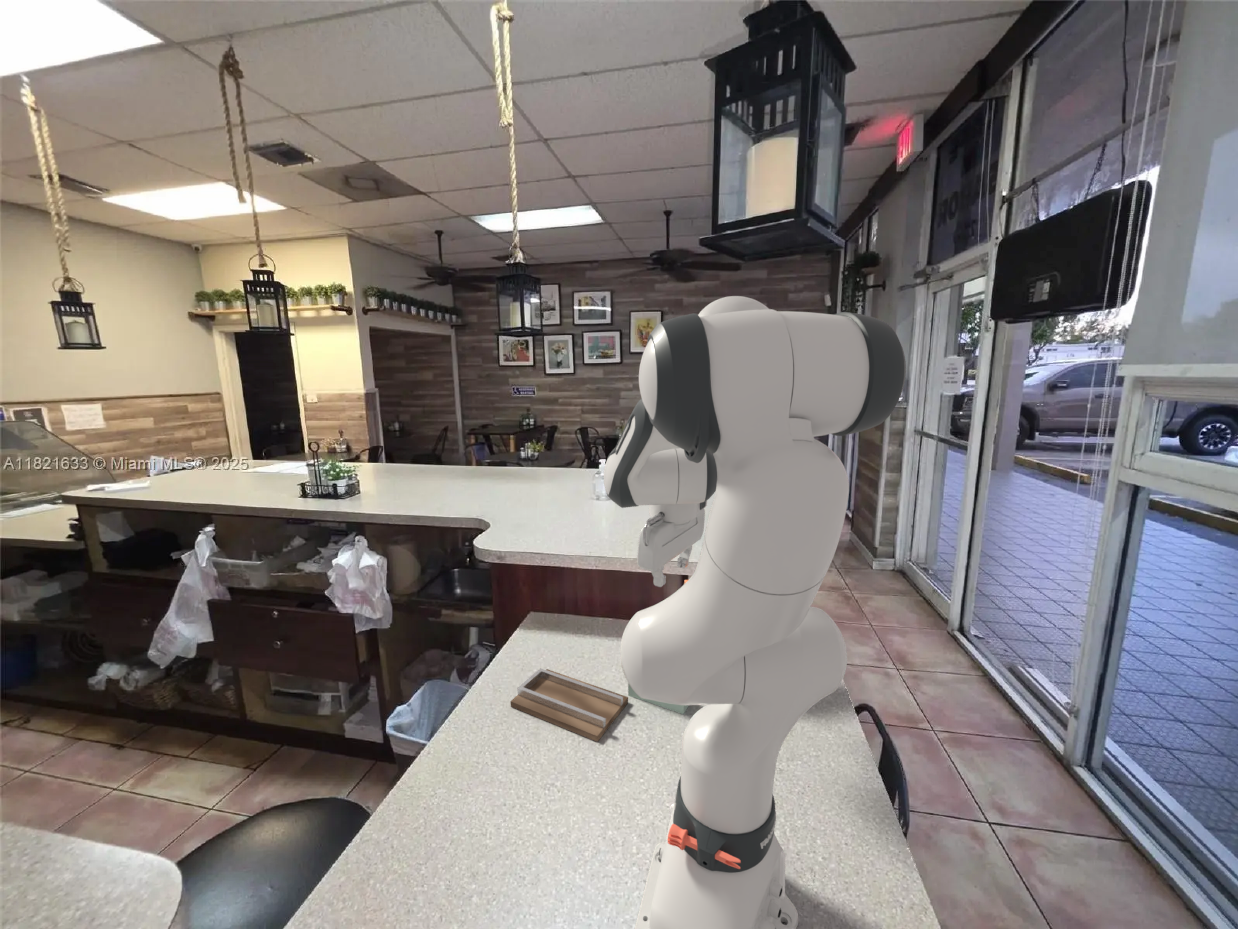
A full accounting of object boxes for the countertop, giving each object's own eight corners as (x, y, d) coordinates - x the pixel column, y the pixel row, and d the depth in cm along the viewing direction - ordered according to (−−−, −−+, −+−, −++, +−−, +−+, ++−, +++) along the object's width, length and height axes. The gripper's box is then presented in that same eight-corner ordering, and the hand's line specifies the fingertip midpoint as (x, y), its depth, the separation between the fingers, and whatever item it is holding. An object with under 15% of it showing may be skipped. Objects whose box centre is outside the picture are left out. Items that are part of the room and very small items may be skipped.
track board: (597, 742, 89) (597, 736, 88) (510, 706, 98) (510, 701, 98) (628, 702, 99) (628, 697, 99) (547, 674, 108) (546, 669, 108)
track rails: (603, 728, 90) (603, 721, 90) (517, 694, 100) (517, 688, 99) (623, 703, 97) (622, 696, 96) (540, 674, 106) (540, 668, 106)
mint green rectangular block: (683, 714, 96) (684, 677, 94) (628, 695, 101) (628, 660, 100) (690, 702, 99) (691, 666, 97) (636, 684, 105) (637, 650, 103)
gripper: (660, 525, 81) (659, 602, 84) (711, 495, 98) (708, 561, 101) (628, 518, 85) (628, 592, 88) (682, 491, 101) (680, 554, 104)
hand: (671, 575), depth 94 cm, fingers open, 8 cm apart
